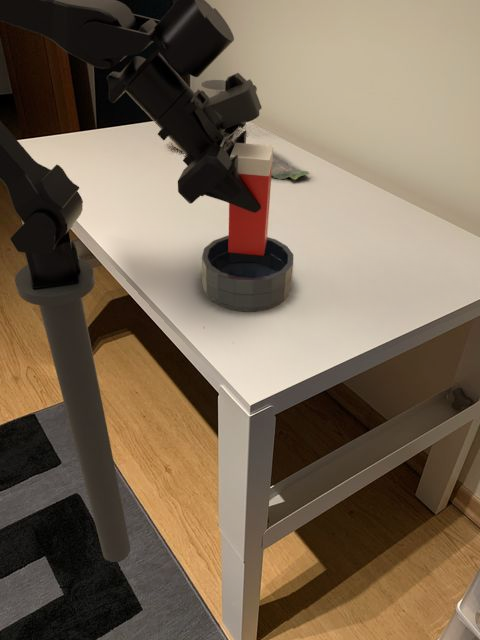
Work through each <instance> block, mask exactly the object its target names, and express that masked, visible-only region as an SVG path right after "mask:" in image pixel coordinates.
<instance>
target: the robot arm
mask: <svg viewBox="0 0 480 640" xmlns="http://www.w3.org/2000/svg"><path fill="white" fill-rule="evenodd" d="M173 3H174V4H173V5H172V6H171V7H170V8H169V10H168V11H167V12H166V13H165V14H164V15H163V16H162V18H161V19H156V18H152V17H148V16H145V15H140V14H137V13H136V14H135V13H133V12H132V10H131V8H129V7H128V5H126V4H125V3H123V2H121V1H119V0H0V23H3V24H7V25H10V26H12V27H16V28H19V29H22V30H25V31H29V32H31V33H33V34H38V35H41V36H42V37H45V38H47V39H48V40H50V41H52V42H53V43H55V44H56V45H57V46H58V47H60V48H61V49H62V50H63V51H64V52H65V53H66V54H69V55H72V56H73V57H75V58H76V59H78V60H81V61H82V62H84V63H87V65H91V66H93V67H94V68H97V69H102V70H103V69H104V70H105V69H110V68H113V67H115V66H116V65H118V64H119V63H121V62H122V61H123V60H124V59H125V58H127V57H129V56H133V58H132V59H131V60H130V61H129V63H127V65H126V66H125V67H124V68H123V69H122V70H121V71H119V72H118V71H112V72H110V73H109V74H108V75H107V76H106V81H107V83H108V101H109V102H110V103H115V102H117V100H119V99H120V98H121V97H122V96H123V95H124V94H125V93H126V94H127V95H128V96H129V97H130V98H131V99H132V100H133V101H134V102H135V103H136V105H138V106H139V107H140V108H141V110H142V111H144V113H145V114H146V115H147V116H148V117H149V118H150V119H151V120H152V121H153V122H154V123H155V124H156V125H157V127H159V129H160V130H159V131H158V133H157V136H158V137H160V138H161V140H162V141H165V140H166V139H169V140H170V139H171V140H172V141H173V142H174V143H175V144H176V145H177V146H178V147H179V148H180V149H181V150H180V151H181V152H182V153H184V155H185V156H184V158H183V159H182V162H183V163H184V164H185V165H186V167H185V168H184V169H183V170H182V173H181V174H180V176H179V177H178V180H177V192H178V194H179V195H180V196H181V197H182V198H183V199H184V200H185V201H186V202H187V203H188V204H189V205H191V204H193V203H194V202H195V201H197V200H198V199H199V198H200V197H204V196H206V197H209V198H213V199H216V200H218V201H222V202H225V203H227V204H229V203H230V204H233V205H235V206H238V207H241V208H243V209H246V210H248V211H251V212H253V213H256V212H257V211H259V210H260V209H261V206H260V204H259V202H258V201H257V199H256V198H255V196H254V195H253V193H252V192H251V190H250V189H249V188H248V186H247V185H246V183H245V182H244V180H243V179H242V178H241V176H240V175H239V173H238V155H236V156H235V157H234V158H233V159H230V155H231V153H232V150H233V148H234V145H235V143H245V144H247V135H248V132H247V130H246V129H245V130H244V131H242V132H241V133H240V134H239V135H238V136H237V133H236V134H235V133H233V132H234V131H235V130H236V129H237V130H238V128H240V129H243V128H244V127H245V126H246V125H247V123H250V122H251V121H254V120H256V119H258V117H259V116H260V114H261V113H260V110H262V104H261V102H260V99H259V97H258V93H257V91H258V87H257V86H256V84H254V83H253V81H252V79H251V78H250V79H246V78H245V77H243V76H242V74H241V73H239V72H236V73H234V74H232V75H229V76H228V77H227V78H226V84H225V91H220V92H219V94H217V95H215V96H213V97H210V98H209V97H208V96H207V95H206V94H205V92H204V91H202V90H201V91H200V88H199V89H197V90H195V91H194V90H193V89H192V88H191V87H190V86H189V85H188V83H186V81H185V80H184V79H183V78H182V77H185V78H186V77H187V76H188V75H189V76H191V77H194V78H199V77H200V76H201V75H202V74H203V73H204V71H206V70H207V69H208V68H209V67H210V66H211V65H212V64H213V63H214V62H215V60H217V58H218V57H219V56H221V54H222V53H223V52H225V50H226V49H227V48H228V47H229V46H230V45H231V44H232V43H233V42H234V41H235V36H234V34H233V31H232V29H231V27H230V26H229V24H228V23H227V21H226V20H225V18H224V17H223V16H222V15H221V13H220V12H219V10H218V9H216V8H215V7H214V8H213V6H212V5H210V3H208V2H207V1H206V0H175V1H174V2H173ZM152 43H155V45H156V46H157V47H155V49H154V50H153V51H152V52H151V53H150V55H149V56H147V58H145V57H143V56H139V55H140V54H141V53H142V52H143V51H145V49H147V48H148V47H149V46H150V45H151V44H152ZM181 76H182V77H181ZM232 133H233V134H232ZM0 180H1V182H2V183H3V184H4V185H5V187H6V189H7V192H8V194H9V197H10V201H11V203H12V206H13V210H14V212H15V213H16V215H17V216H18V217H19V218H20V220H21V221H22V223H23V224H22V225H21V226H20V227H19V228H18V229H17V230H16V231H15V232H14V233H13V234H12V236H11V237H10V238H9V239H10V242H11V243H12V244H13V246H14V248H15V250H16V251H17V252H18V253H24V255H25V259H26V262H27V265H28V267H29V271H30V275H31V286H32V289H33V290H37V289H44V288H52V287H59V286H66V285H73V284H78V283H79V278H78V274H80V273H81V270H80V265H79V260H78V258H79V254H78V250H77V245H76V241H75V240H71V236H70V229H72V228H73V226H74V224H75V223H76V221H77V220H78V219H79V218H80V216H81V215H82V212H83V206H84V205H83V203H84V200H83V198H82V196H81V194H80V192H78V191H79V190H80V186H79V185H78V184H75V183H74V182H73V181H72V180H71V179H70V178H69V176H68V175H67V174H66V172H65V170H64V168H63V167H61V166H60V165H59V164H55V166H53V167H52V169H51V168H48V167H46V166H44V165H42V164H40V163H38V162H37V161H36V160H35V159H34V158H33V157H32V156H31V154H29V152H28V151H27V150H26V149H25V148H24V146H23V145H22V144H21V143H20V141H18V139H17V138H16V137H15V136H14V135H13V134H12V132H10V129H8V128H7V126H5V124H4V123H3V122H2V121H1V120H0Z"/></svg>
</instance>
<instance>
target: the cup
mask: <svg viewBox="0 0 480 640" xmlns="http://www.w3.org/2000/svg"><path fill="white" fill-rule="evenodd" d="M226 80H227V79H226ZM226 80H224V79H209V80H204V81H201V82H200V83H199V90H200V91H201V90H202V91H204V92H205V94H206V95H207V96H208V97H209V98H210V97H213V96H215V95H217V94H219V92H220V91H225V84H226ZM237 131H238V128H237V129H236V130H235V131H234V132H233V133H235V134H236V135H237ZM233 133H232V134H233Z"/></svg>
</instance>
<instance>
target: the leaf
mask: <svg viewBox="0 0 480 640" xmlns="http://www.w3.org/2000/svg"><path fill="white" fill-rule="evenodd" d="M307 175H311V173H310V172H309V171H307V170H301V169H297V168H296V167H295V166H292V165H289V164H288V163H287V162H286V161H285V160H284V159H282V158H280V157H279V156H278V155H275V154H273V159H272V174H271V177H273V178H274V179H275V178H276V179H278V180H284V179H287V178H290V179H292V180H297V179H298V178H300V177H302V176H307Z"/></svg>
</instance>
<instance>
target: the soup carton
mask: <svg viewBox="0 0 480 640" xmlns="http://www.w3.org/2000/svg"><path fill="white" fill-rule="evenodd" d="M236 155H238V173H239V175H240V176H241V178H242V179H243V180H244V182H245V183H246V185H247V186H248V188H249V189H250V190H251V192H252V193H253V195H254V196H255V198H256V199H257V201H258V202H259V204H260V206H261V209H260V210H259V211H257V212H256V213H253V212H251V211H248V210H246V209H243V208H241V207H238V206H235V205H233V204H230V203H228V236H229V240H228V252H230V253H240V254H250V255H260V256H264V252H265V247H266V242H267V237H268V234H269V233H268V231H269V220H270V219H269V217H270V203H271V201H270V200H271V186H272V176H271V174H272V159H273V155H274V145H266V144H255V143H246V144H245V143H235V145H234V148H233V150H232V153H231V155H230V159H233V158H234V157H235V156H236Z"/></svg>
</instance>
